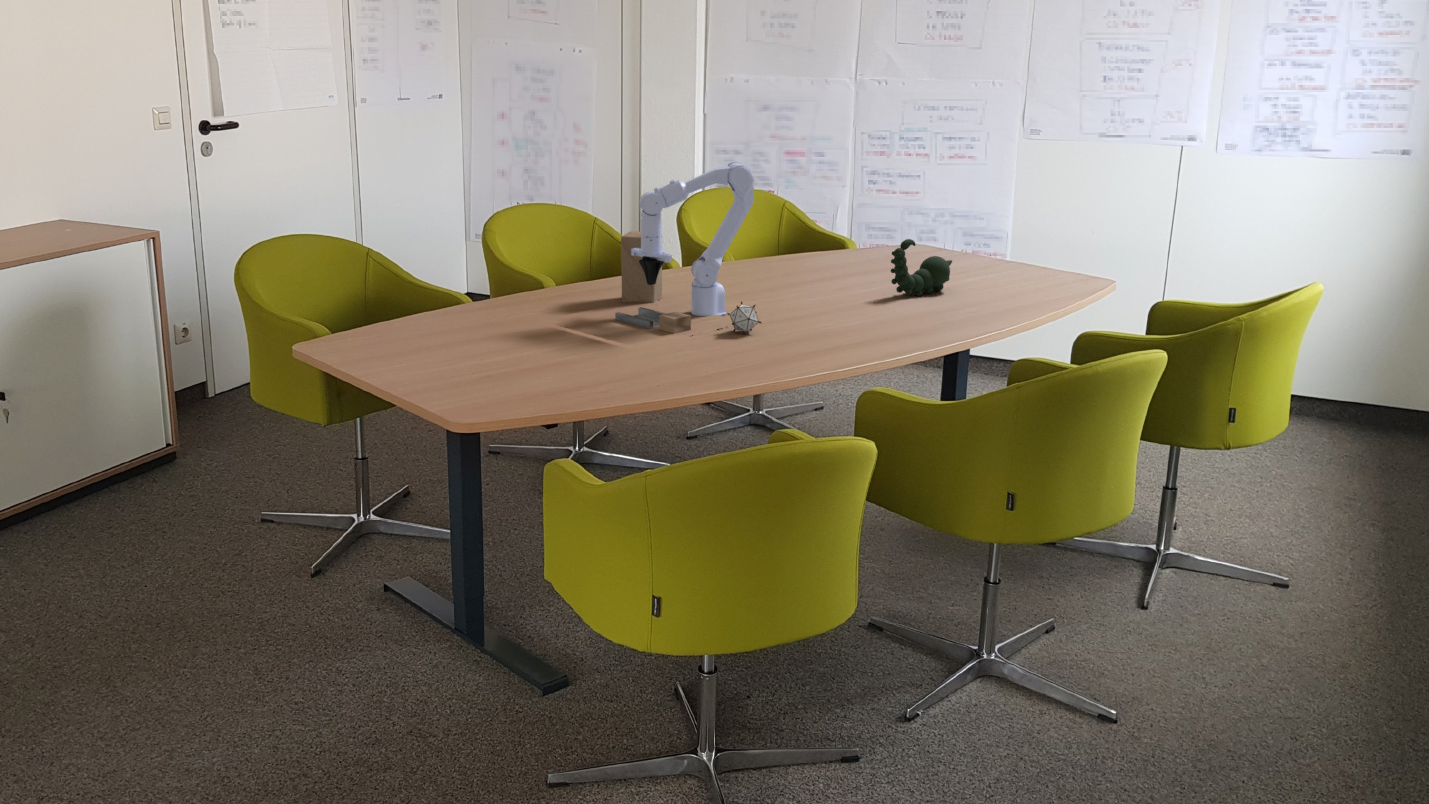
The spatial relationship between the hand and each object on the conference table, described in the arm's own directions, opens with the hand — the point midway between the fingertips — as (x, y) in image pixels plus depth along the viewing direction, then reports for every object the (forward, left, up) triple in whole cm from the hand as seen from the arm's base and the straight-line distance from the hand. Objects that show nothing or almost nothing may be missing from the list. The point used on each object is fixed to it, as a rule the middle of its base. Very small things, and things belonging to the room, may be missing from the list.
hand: (651, 284), depth 337 cm
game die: (-6, +30, -10) cm, 32 cm away
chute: (+7, +9, -9) cm, 15 cm away
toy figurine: (-82, +35, -10) cm, 90 cm away
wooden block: (-12, -17, -10) cm, 23 cm away
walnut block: (+8, +17, -9) cm, 21 cm away
